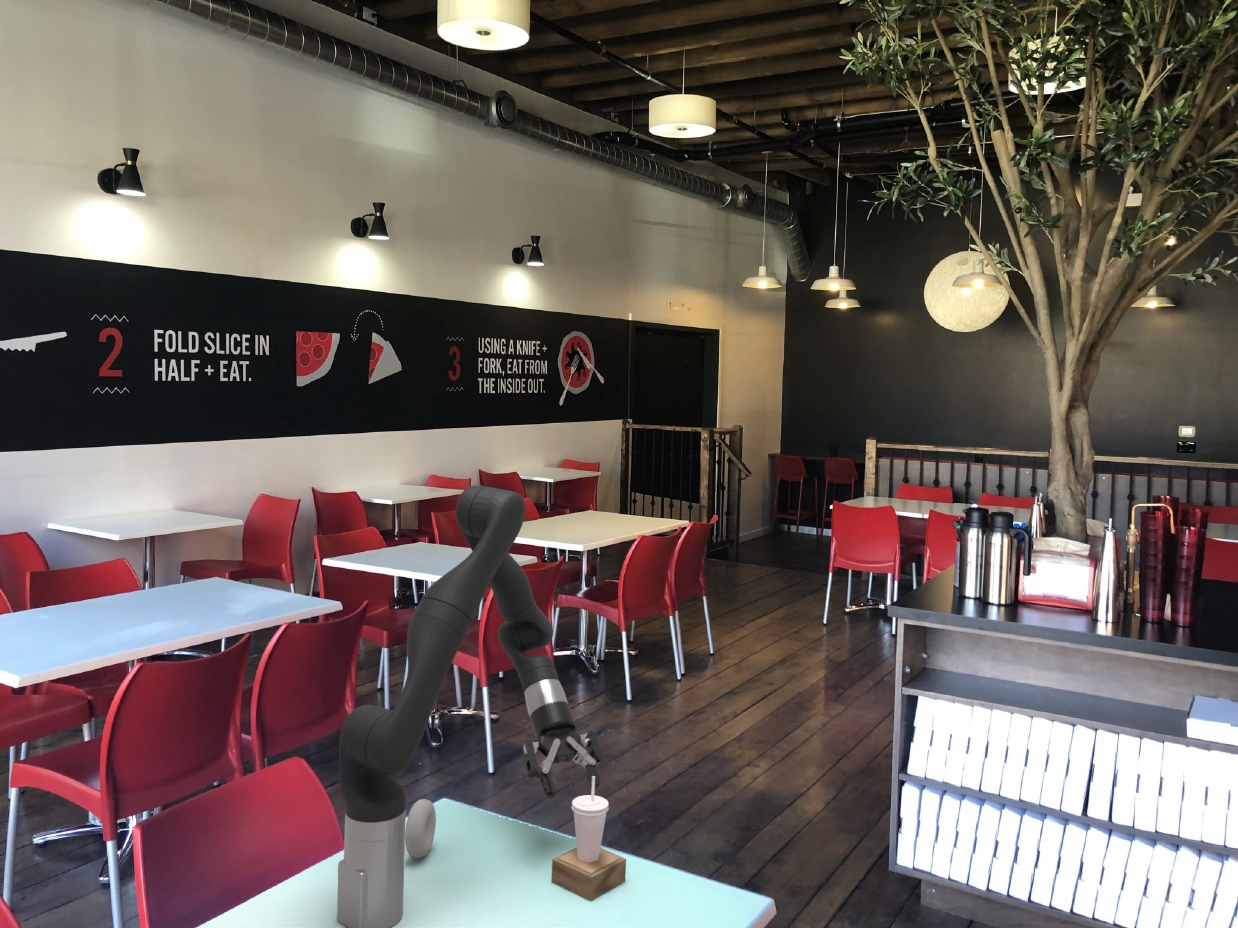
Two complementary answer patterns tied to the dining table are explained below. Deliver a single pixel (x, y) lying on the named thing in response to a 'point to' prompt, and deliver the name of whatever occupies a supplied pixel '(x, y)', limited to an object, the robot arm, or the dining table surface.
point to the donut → (420, 828)
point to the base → (588, 873)
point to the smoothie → (589, 824)
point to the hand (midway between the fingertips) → (574, 792)
